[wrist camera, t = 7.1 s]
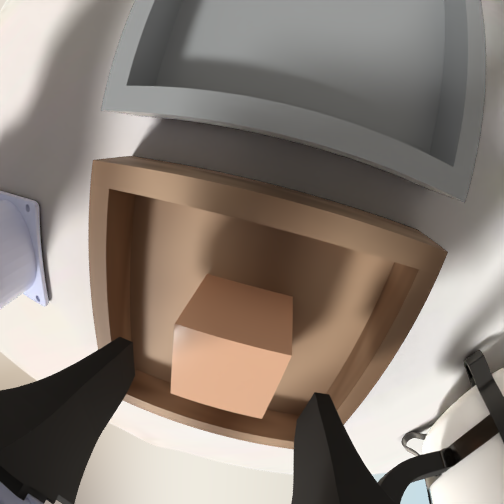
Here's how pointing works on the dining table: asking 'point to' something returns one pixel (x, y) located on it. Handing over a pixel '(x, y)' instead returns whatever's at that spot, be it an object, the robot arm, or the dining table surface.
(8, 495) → the robot arm
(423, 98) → the grey bin
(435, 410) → the dining table surface
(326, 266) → the walnut crate
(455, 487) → the coffee press
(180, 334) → the terracotta block
